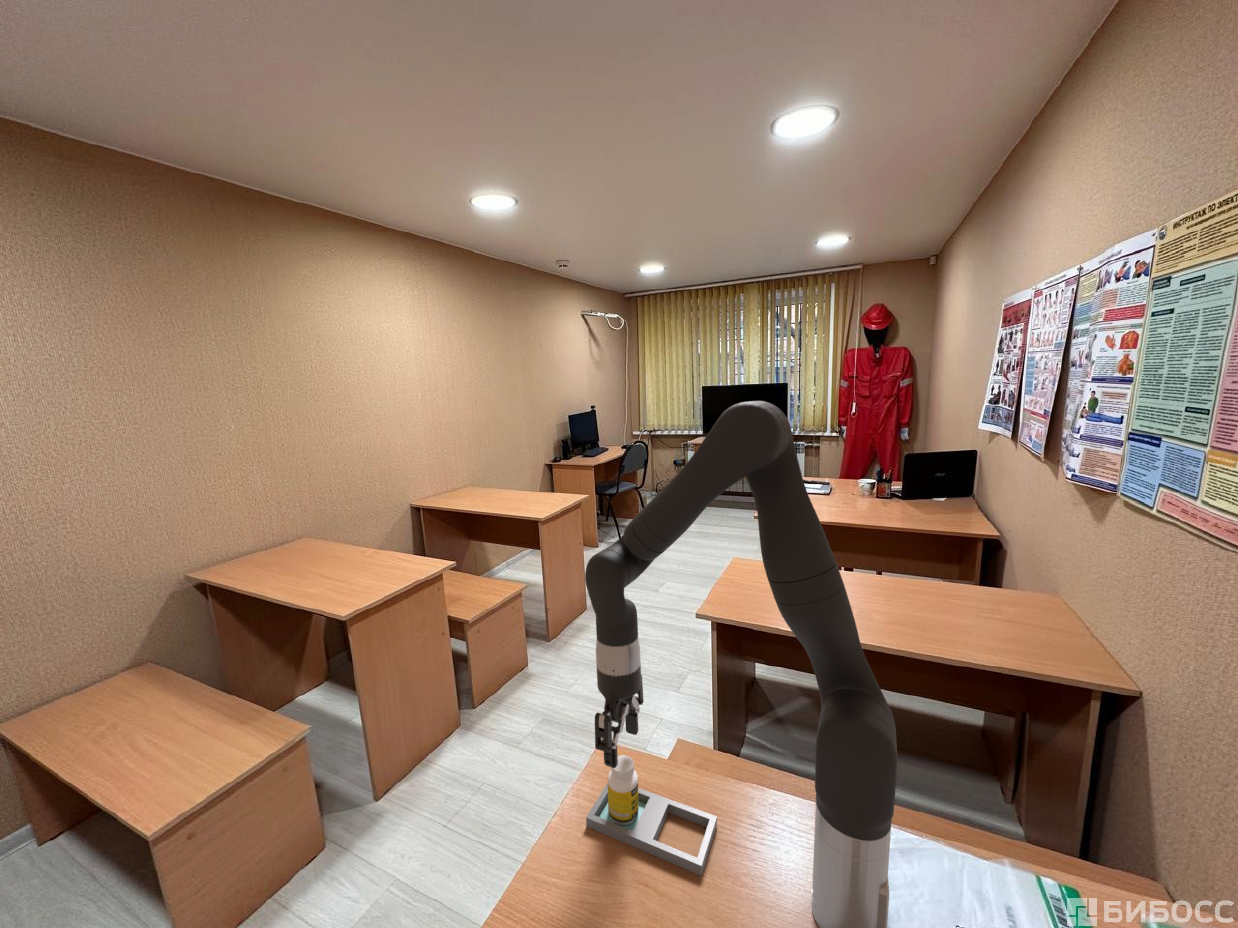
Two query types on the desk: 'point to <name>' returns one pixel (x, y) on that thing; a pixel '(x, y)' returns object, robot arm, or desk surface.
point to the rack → (654, 828)
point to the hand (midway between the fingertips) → (622, 748)
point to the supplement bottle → (623, 792)
